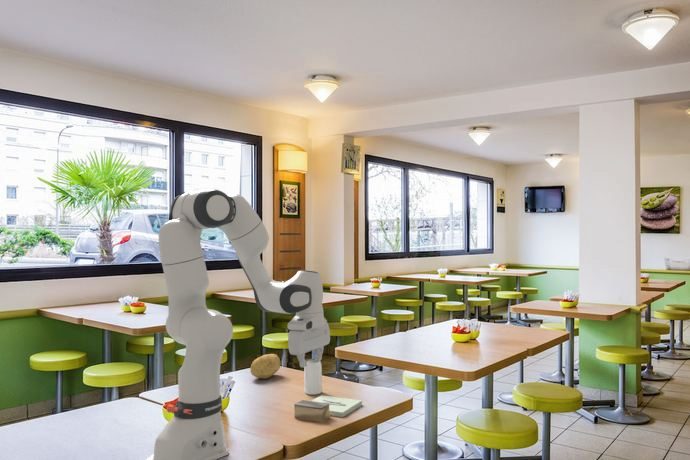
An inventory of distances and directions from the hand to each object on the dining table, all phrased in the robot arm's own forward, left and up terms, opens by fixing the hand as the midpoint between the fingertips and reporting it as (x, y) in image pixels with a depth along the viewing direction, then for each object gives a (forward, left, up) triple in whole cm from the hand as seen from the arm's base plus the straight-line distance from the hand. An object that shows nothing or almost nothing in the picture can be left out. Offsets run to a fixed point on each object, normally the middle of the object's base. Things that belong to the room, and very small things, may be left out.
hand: (311, 363), depth 178 cm
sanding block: (0, 0, -17) cm, 17 cm away
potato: (+35, +44, -17) cm, 59 cm away
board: (+11, -1, -17) cm, 20 cm away
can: (+24, +14, -17) cm, 33 cm away
